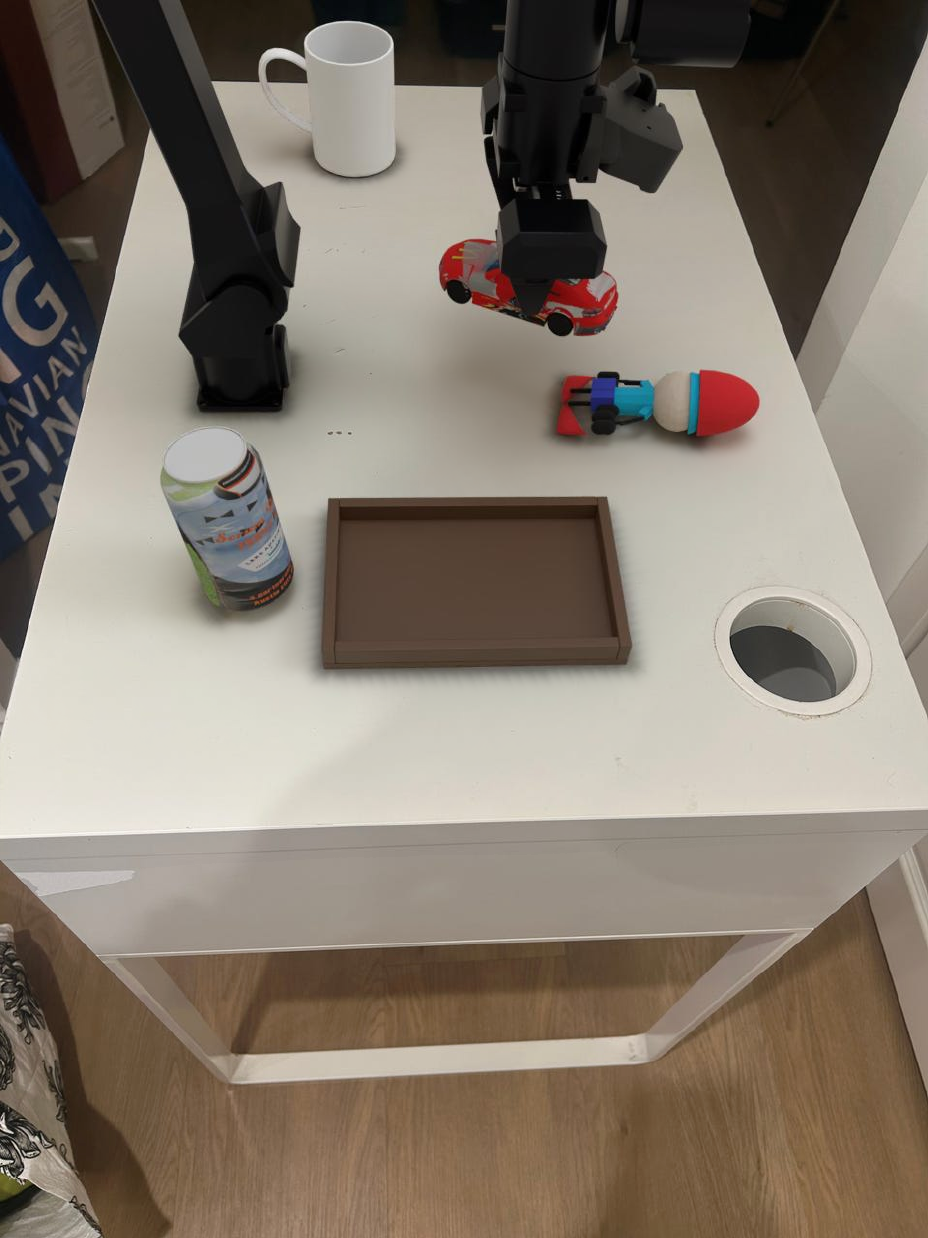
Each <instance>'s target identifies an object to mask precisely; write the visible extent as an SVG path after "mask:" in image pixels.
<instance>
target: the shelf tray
mask: <svg viewBox="0 0 928 1238" xmlns="http://www.w3.org/2000/svg"><path fill="white" fill-rule="evenodd" d="M325 539H326V540H325V558H324V561H325V563H324V580H323V581H324V582H323V583H324V585H323V586H324V587H323V603H322V605H323V606H322V626H321V627H322V629H321V649H320V650H321V658H322V664H323V669H324V670H325V669H326V670H327V669H328V670H329V669H330V670H331V669H333V670H334V669H385V668H388V669H389V668H391V669H392V668H442V667H445V668H448V667H450V668H452V667H453V668H454V667H456V668H457V667H511V666H567V665H569V666H571V665H575V666H577V665H579V666H580V665H625V664H626V665H627V663H628V662H629V661H628V660H629V657H630V654H631V652H632V649H633V641H632V637H631V636H632V635H631V630H630V625H629V618H628V611H627V607H626V600H625V594H624V589H623V583H622V577H621V569H620V565H619V559H618V558H619V557H618V553H617V547H616V539H615V534H614V529H613V523H612V517H611V511H610V505H609V499H608V496H595V495H594V496H593V495H592V496H591V495H590V496H588V495H587V496H586V495H585V496H583V495H582V496H460V497H459V496H446V497H445V496H442V497H439V496H435V497H433V496H431V497H430V496H429V497H425V496H423V497H421V496H419V497H418V496H417V497H414V496H413V497H328V498H327V515H326V537H325Z"/></svg>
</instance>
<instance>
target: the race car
mask: <svg viewBox="0 0 928 1238" xmlns="http://www.w3.org/2000/svg"><path fill="white" fill-rule="evenodd" d="M438 275H439V276H438V277H439V278H438V279H439V284H440V287H441V289H442V290H443V292H446V293H447V296H448V297H449V299H450V300H451V301H453V302H454V303H456V304H459V305H465V304H467V303H469V302H470V301H471V304H472V305H475V306H478V307H481V308H484V309H487V310H490V311H494V312H496V313H499V314H503V315H506V316H509V317H511V318H515V319H519V320H521V321H524V322H527V323H530V324H533V325H536V326H540V327H543V328H545V326H546V325H547V328H548V330H549V331H550V332H551V333H552V334H554V336H556V337H560V338H561V337H562V338H563V337H567V336H569V335H570V334H571V333H572V331H573V334H572V335H573V336H574V337H591V336H595V335H599V334H600V333H602V331H603V332H605V330H606V328H607V326H608V325H609V324H610V322H611V320H612V318H613V317H614V315H615V312H616V311H617V309H618V301H619V291H618V290H617V289H618V288H617V287H618V285H617V281H616V279H615V278H614V277H613V276H612V274H610V273H609V272H607V271H605V270H603V272H602V274H601V275H599V276H598V277H597V278H595V279H556V281H555V283H554V285H553V287H552V289H551V291H550V293H549V295H548V297H547V299H546V301H545V302H544V304H543V306H542V308H541V310H540V312H539V314H538V315H535V316H525V315H523V314H522V312H521V309H520V307H519V304H518V301H517V299H516V296H515V293H514V291H513V288H512V285H511V283H510V281H509V278H508V277H507V276H505V275H503V274H501V273H500V265H499V257H498V251H497V243H496V240H491V239H485V238H468V239H465V240H464V239H463V240H462V241H459V242H457V243H455V244H453V245H451V246H449V247H448V248H447V249H446V250H445V252H444V253H443V255H442V256H441V259H440V260H439V264H438Z"/></svg>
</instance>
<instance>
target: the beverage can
mask: <svg viewBox="0 0 928 1238" xmlns="http://www.w3.org/2000/svg"><path fill="white" fill-rule="evenodd" d="M160 471H161V472H160V476H159V477H160V478H159V482H160V488H161V490H162V493H163V495H164V498H165V500H166V502H167V505H168V507H169V510H170V512H171V515H172V517H173V519H174V522H175V524H176V526H177V530H178V531H179V533H180V534H179V535H180V536H181V538H182V542H183V543H184V545H185V548H186V550H187V553H188V555H189V558H190V560H191V562H192V566H193V567H194V569H195V572H196V574H197V577H198V579H199V581H200V584H201V587H202V588H203V591H204V593H205V595H206V597H207V598H208V601H210V602H211V603H212V604H213V605H215V606H216V607H218V608H221V609H224V610H226V611H232V612H248V611H253V610H258V609H260V608H263V607H266V606H268V605H270V604H271V603H274V602H275V601H276V600H278V599H279V598H280V597H282V596H283V594H284V593H285V592H286V591H287V590H288V589H289V587H290V585H291V584H292V581H293V578H294V572H295V569H294V568H295V567H294V563H293V562H294V561H293V560H292V556H291V553H290V550H289V546H288V544H287V539H286V537H285V533H284V530H283V527H282V523H281V521H280V520H281V519H280V517H279V513H278V510H277V506H276V504H275V500H274V497H273V493H272V491H271V487H270V483H269V481H268V477H267V474H266V470H265V467H264V463H263V460H262V458H261V456H260V453H259V452H258V450H257V449H256V448H255V447H254V446H253V444H251V443H250V442H248V441H247V440H246V439H245V438H244V436H243V435H242V434H241V433H240V432H238V431H237V430H235V429H233V428H229V427H226V426H218V425H217V426H216V425H209V426H203V427H198V428H195V429H192V430H190V431H187V432H185V433H183V434H181V435H180V436H178V437H177V438H176V439H174V440H173V441H172V442H171V443H170V444H169V445H168V446H167V448H166V449H165V451H164V453H163V456H162V468H161V470H160Z"/></svg>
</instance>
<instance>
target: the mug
mask: <svg viewBox="0 0 928 1238" xmlns="http://www.w3.org/2000/svg"><path fill="white" fill-rule="evenodd" d="M303 46H304V57H303V56H302V55H300V54H298V53H296V52H295V51H292V50H290V49H286V48H281V47H280V48H279V47H273V48H270V49H267V50H266V51H265V52H264V53H262V55H261V57H260V59H259V62H258V80H259V85H260V87H261V90H262V92H263V94H264V96H265V98H266V100H267V102H268V103H269V104H270V106H271V107H272V109H274V110H275V111H276V112H277V113H278V114H279V115H280V116H281V117H283V118H284V119H285V120H287V121H288V122H290V124H292V125H294V126H295V127H298V128H299V129H301V130H303V131H305V132H307V133H310V134H311V135H312V136H311V137H312V147H313V154H314V158H315V160H316V162H317V163H318V164H319V166H320V167H322V168H323V169H325V170H326V171H327V172H330V173H332V174H334V175H339V176H341V177H347V178H350V177H351V178H359V177H369V176H372V175H376V174H379V173H381V172H382V171H385V170H386V169H388V168H389V167H390V166H391V165H392V163H393V162H394V161H395V157H396V151H397V150H396V147H397V146H396V105H395V104H396V103H395V100H396V98H395V95H396V94H395V53H394V52H395V51H394V50H395V47H394V46H395V45H394V40H393V38H392V36H391V35H390V34H389V32H387V31H386V30H384V29H383V28H381V27H379V26H377V25H374V24H371V23H368V22H362V21H355V20H354V21H353V20H342V21H333V22H329V23H325V24H322V25H319V26H317V27H315V28H313V29H312V30H311V31H309V33H308V34H307V35H306V36H305V37H304V42H303ZM274 59H277V60H278V59H281V60H285V61H289V62H291V63H293V64H295V65H297V66H298V67H300V68H301V69H303V70H304V71H306V81H307V90H308V91H307V92H308V103H309V113H310V121H308V120H306V119H304V118H302V117H301V116H298V115H297V114H295V113H294V112H292V111H291V110H289V108H287V107H286V106H285V105H284V104H283V103H282V102H281V101H279V99H278V98H277V97H276V96H275V95H274V93H273V91H272V88H270V86H269V84H268V83H269V82H268V80H267V74H266V73H267V72H266V70H267V69H266V68H267V65H268V63H269V62H271V61H272V60H274Z"/></svg>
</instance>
